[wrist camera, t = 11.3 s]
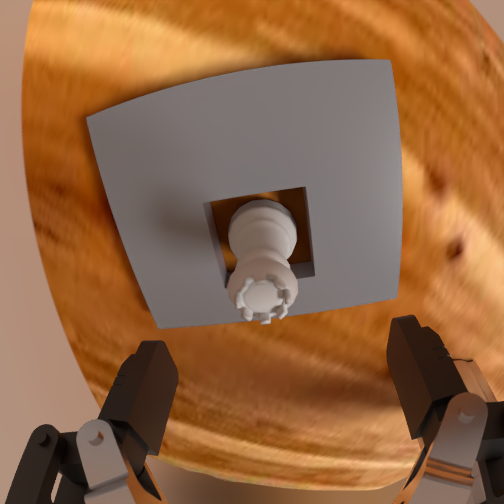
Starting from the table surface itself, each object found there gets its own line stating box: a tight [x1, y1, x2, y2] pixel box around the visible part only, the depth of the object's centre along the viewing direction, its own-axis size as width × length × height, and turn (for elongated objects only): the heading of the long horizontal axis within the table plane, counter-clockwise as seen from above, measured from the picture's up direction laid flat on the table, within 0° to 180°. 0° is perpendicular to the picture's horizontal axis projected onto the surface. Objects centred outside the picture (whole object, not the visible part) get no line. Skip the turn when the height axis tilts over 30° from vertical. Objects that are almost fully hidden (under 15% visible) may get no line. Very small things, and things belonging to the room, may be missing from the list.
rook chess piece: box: [227, 199, 298, 324], centre depth 17 cm, size 4×4×8 cm
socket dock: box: [86, 59, 403, 329], centre depth 18 cm, size 18×16×2 cm
